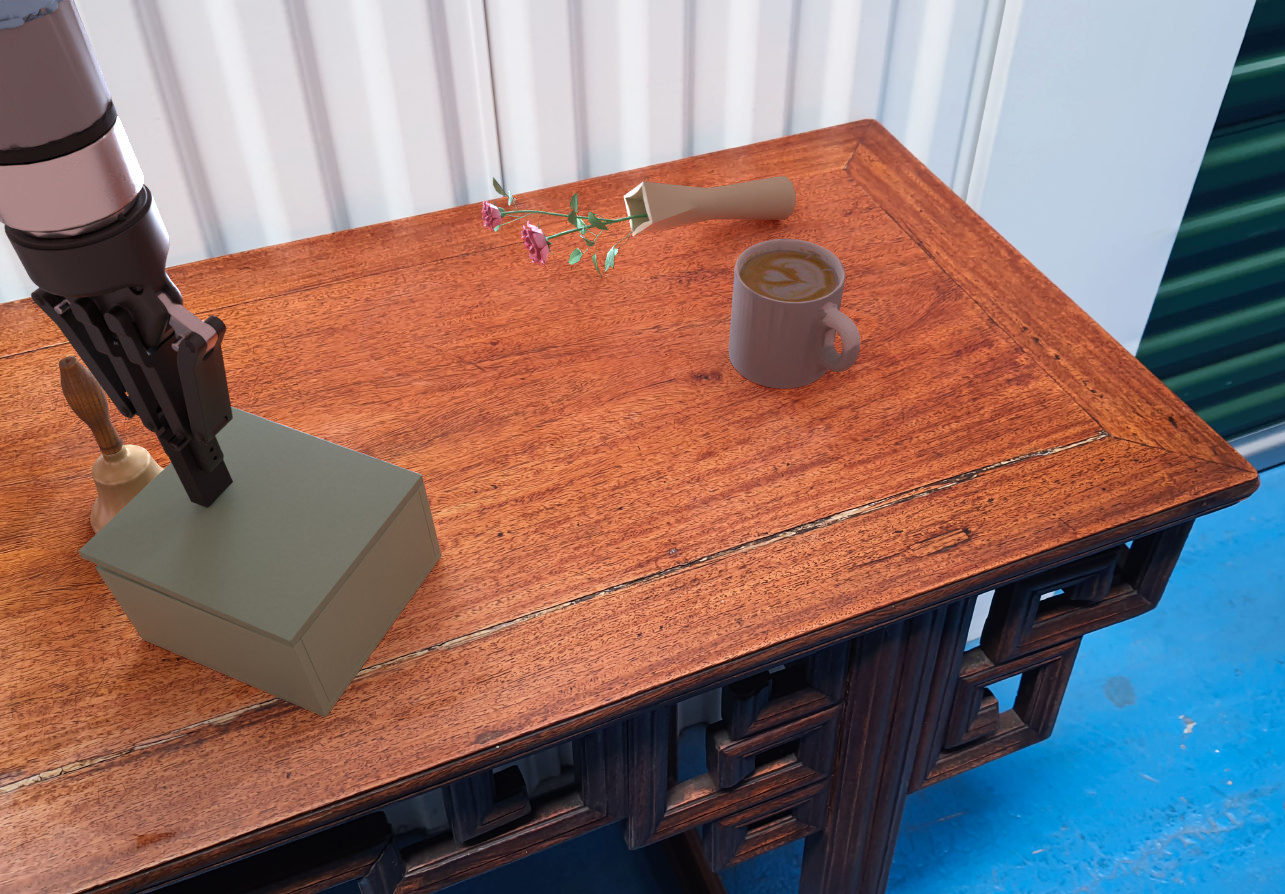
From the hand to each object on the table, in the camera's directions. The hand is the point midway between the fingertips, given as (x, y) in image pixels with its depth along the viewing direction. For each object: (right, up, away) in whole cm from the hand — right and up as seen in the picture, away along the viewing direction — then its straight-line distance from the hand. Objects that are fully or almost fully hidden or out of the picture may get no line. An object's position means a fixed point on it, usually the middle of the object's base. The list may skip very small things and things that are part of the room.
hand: (212, 491), depth 71 cm
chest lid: (+3, -2, 0) cm, 4 cm away
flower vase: (+31, +24, +38) cm, 55 cm away
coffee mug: (+45, +11, +25) cm, 53 cm away
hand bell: (-11, -2, +13) cm, 17 cm away
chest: (+4, -8, +6) cm, 11 cm away
